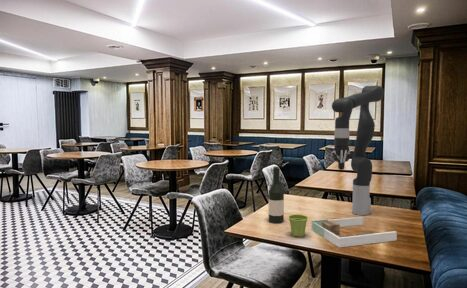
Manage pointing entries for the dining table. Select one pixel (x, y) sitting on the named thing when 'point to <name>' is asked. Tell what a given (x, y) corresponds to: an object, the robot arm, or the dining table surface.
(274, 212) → the wine bottle
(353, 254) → the dining table surface
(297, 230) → the plant pot
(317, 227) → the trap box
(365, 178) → the robot arm
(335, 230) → the walnut block
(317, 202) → the dining table surface
